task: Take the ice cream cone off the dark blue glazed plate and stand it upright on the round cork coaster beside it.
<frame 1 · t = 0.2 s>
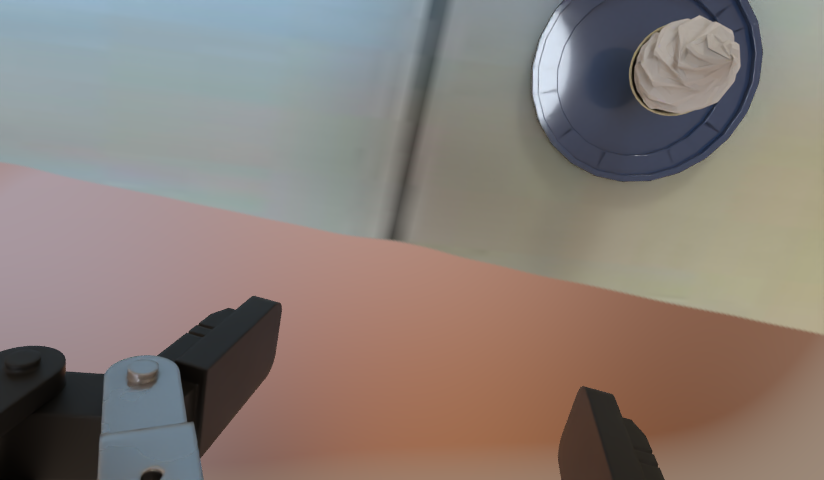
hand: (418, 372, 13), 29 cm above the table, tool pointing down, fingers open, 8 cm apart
plate: (635, 75, 37), on the table
ice cream cone: (637, 75, 36), point 1 cm above the table, touching plate
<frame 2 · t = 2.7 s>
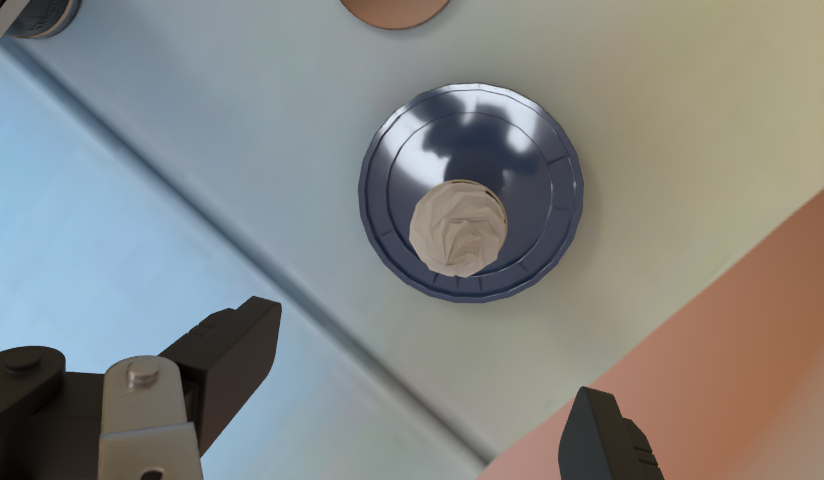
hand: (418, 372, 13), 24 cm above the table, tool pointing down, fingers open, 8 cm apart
plate: (468, 194, 36), on the table
ice cream cone: (467, 196, 35), point 1 cm above the table, touching plate
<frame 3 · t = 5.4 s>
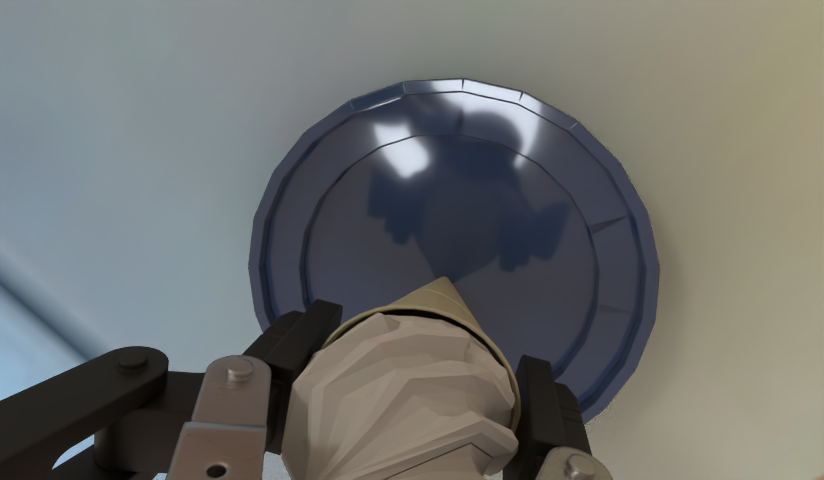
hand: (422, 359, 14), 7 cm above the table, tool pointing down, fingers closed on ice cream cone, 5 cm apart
plate: (445, 275, 20), on the table
ice cream cone: (444, 280, 20), point 1 cm above the table, touching gripper, plate
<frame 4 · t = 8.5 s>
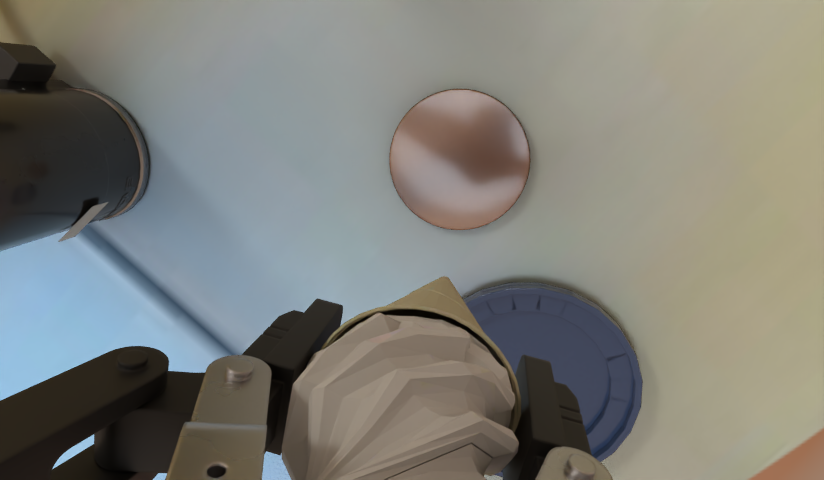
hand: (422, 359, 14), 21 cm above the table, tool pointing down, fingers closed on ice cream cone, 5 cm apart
coaster: (458, 161, 33), on the table
plate: (524, 376, 36), on the table
ice cream cone: (444, 280, 20), point 15 cm above the table, touching gripper
when the fingers open (7 cm above the table, at t = 11.5 s): ice cream cone stays where it is, resting on coaster.
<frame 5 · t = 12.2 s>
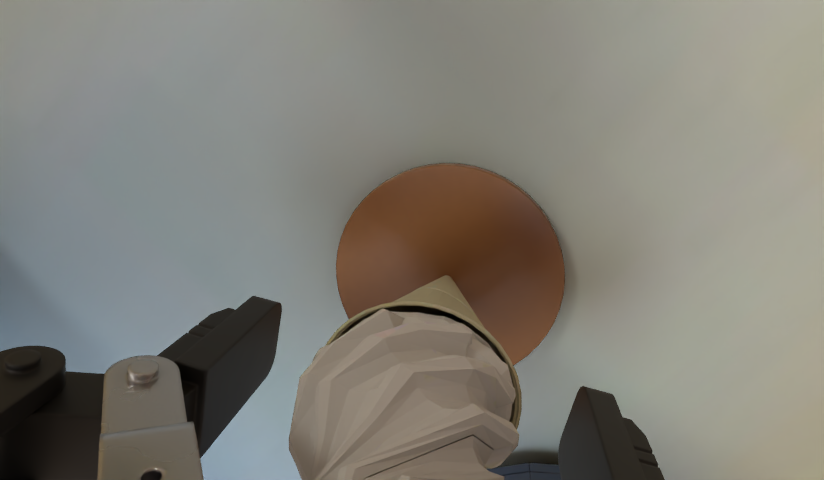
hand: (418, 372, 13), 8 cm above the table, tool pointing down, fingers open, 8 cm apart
coaster: (447, 274, 20), on the table
ice cream cone: (446, 279, 20), resting on coaster
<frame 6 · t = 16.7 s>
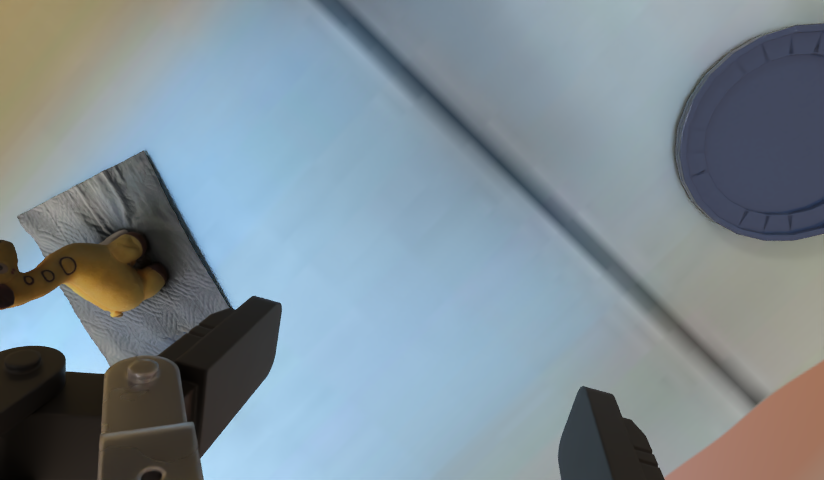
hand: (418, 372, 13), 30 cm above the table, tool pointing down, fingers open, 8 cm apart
plate: (781, 136, 37), on the table
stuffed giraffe: (131, 268, 50), on the table
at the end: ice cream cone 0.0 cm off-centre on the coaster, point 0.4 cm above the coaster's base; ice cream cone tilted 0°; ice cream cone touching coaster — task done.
